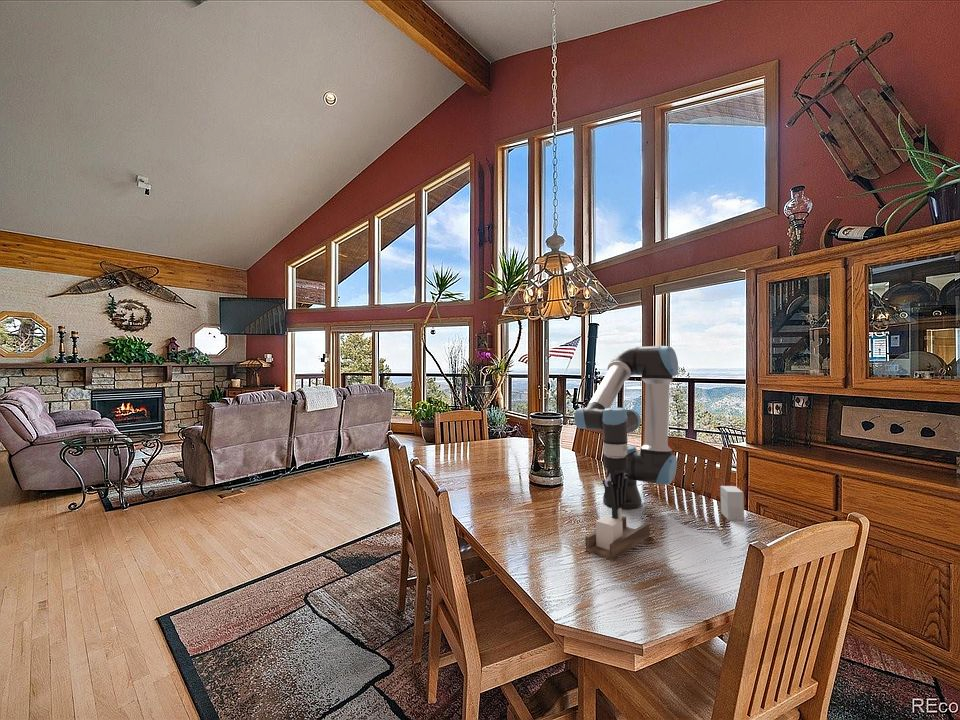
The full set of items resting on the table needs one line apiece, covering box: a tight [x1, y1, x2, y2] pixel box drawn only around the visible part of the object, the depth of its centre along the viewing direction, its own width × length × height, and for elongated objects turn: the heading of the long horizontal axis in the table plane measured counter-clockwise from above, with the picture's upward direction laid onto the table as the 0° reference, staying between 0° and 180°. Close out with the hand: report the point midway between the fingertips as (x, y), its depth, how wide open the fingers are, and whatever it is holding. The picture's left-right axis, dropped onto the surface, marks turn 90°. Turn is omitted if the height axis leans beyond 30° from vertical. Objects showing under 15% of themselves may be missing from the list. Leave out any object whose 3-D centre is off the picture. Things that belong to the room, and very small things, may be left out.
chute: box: [584, 515, 651, 561], centre depth 147 cm, size 10×24×4 cm, turn 134°
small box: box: [719, 485, 745, 521], centre depth 168 cm, size 8×6×10 cm
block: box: [595, 515, 623, 550], centre depth 143 cm, size 6×6×8 cm
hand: (617, 527), depth 147 cm, fingers closed
